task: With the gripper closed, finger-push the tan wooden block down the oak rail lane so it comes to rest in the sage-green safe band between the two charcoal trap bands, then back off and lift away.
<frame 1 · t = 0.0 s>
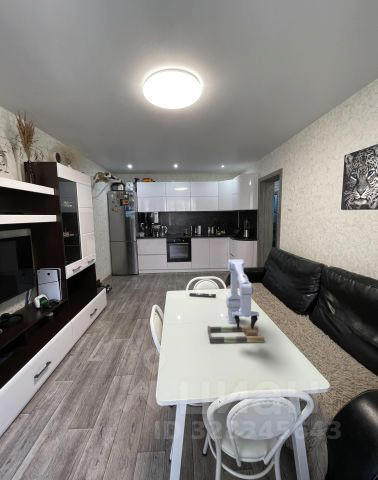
hand: (245, 328, 118), 10 cm above the table, fingers open, 7 cm apart
trap lane: (235, 336, 128), on the table
tan wooden block: (250, 336, 128), resting in trap lane
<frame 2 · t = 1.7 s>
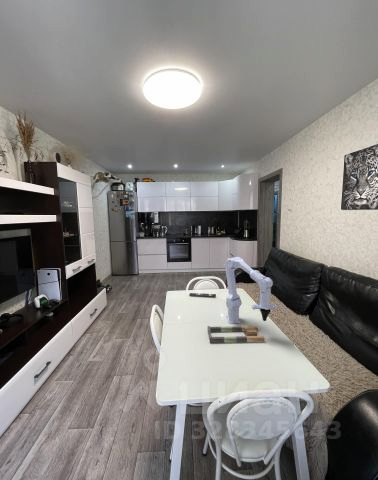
hand: (264, 320, 127), 10 cm above the table, fingers closed
nothing on the table moved.
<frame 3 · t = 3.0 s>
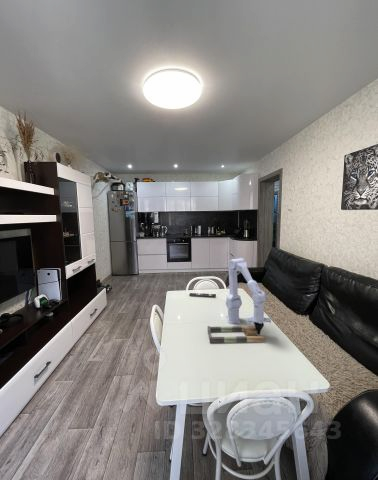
hand: (258, 333, 128), 1 cm above the table, fingers closed
tan wooden block: (250, 336, 128), resting in trap lane, touching gripper
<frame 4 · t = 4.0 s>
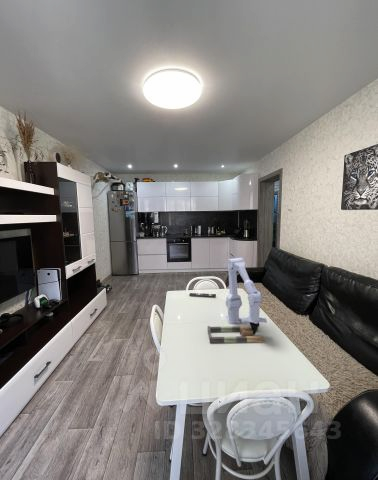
hand: (253, 333, 128), 1 cm above the table, fingers closed
tan wooden block: (246, 335, 128), resting in trap lane, touching gripper
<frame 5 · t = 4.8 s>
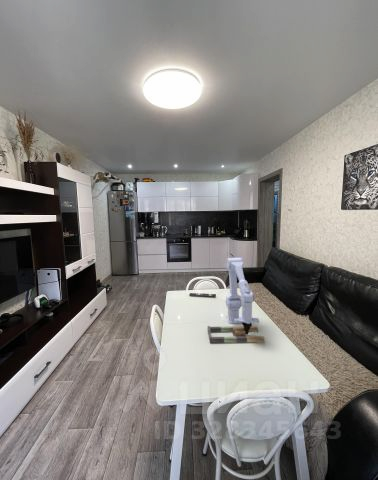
hand: (246, 333, 128), 1 cm above the table, fingers closed
tan wooden block: (238, 336, 128), resting in trap lane, touching gripper
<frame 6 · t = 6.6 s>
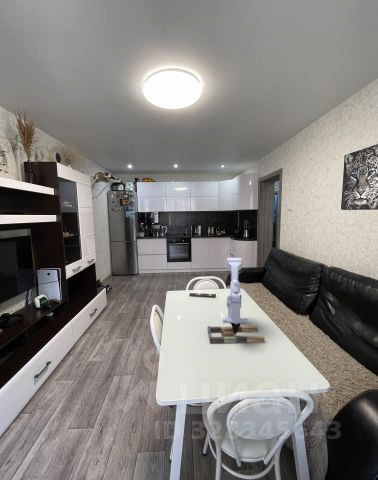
hand: (234, 333, 128), 1 cm above the table, fingers closed
tan wooden block: (227, 336, 127), resting in trap lane, touching gripper
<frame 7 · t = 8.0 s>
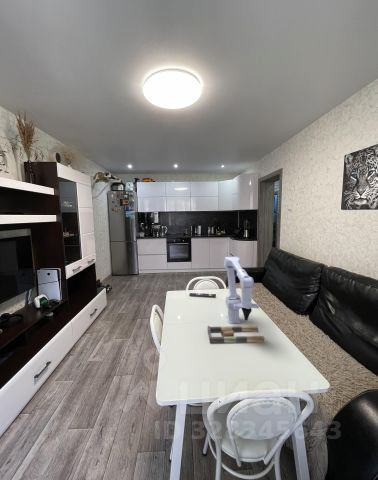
hand: (245, 319, 127), 10 cm above the table, fingers closed
tan wooden block: (227, 337, 127), resting in trap lane
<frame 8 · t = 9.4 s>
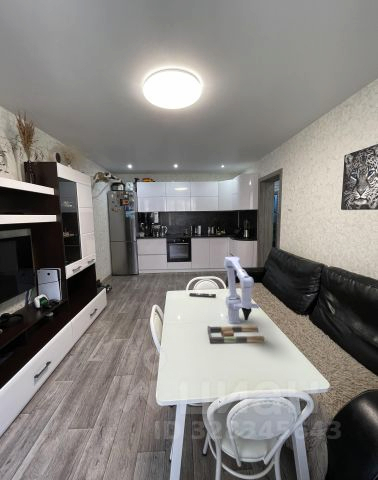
hand: (245, 319, 127), 10 cm above the table, fingers closed
nothing on the table moved.
at the end: tan wooden block inside the target area (0.8 cm from its centre), resting in trap lane; tan wooden block tilted 0°; tan wooden block touching table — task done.
